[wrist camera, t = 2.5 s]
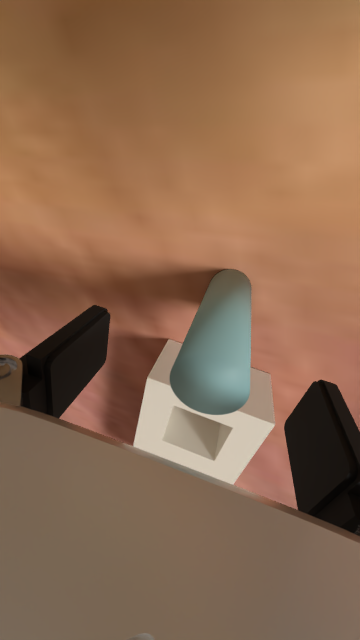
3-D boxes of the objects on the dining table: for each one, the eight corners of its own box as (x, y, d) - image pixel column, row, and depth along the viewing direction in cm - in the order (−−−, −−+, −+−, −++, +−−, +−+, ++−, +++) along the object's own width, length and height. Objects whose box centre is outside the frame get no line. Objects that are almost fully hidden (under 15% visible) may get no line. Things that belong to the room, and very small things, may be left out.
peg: (216, 263, 17) (178, 341, 8) (258, 276, 16) (263, 371, 8) (204, 301, 18) (163, 398, 10) (242, 313, 18) (233, 424, 10)
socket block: (168, 338, 21) (147, 377, 17) (270, 374, 20) (275, 424, 16) (143, 441, 29) (125, 484, 25) (214, 470, 28) (207, 520, 24)
